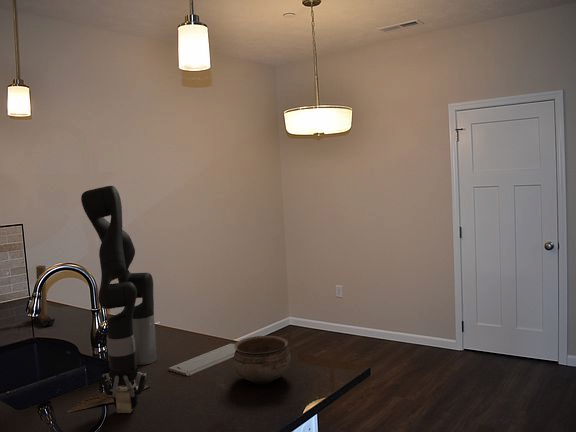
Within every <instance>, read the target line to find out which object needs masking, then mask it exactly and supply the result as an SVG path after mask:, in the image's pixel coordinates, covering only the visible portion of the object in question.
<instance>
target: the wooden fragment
mask: <svg viewBox="0 0 576 432" xmlns="http://www.w3.org/2000/svg"><path fill="white" fill-rule="evenodd" d="M138 385H139V383H136V386H138ZM125 387H127V386H125ZM147 388H151V386H150V385H146V384H145V386H144V390H145V389H147ZM111 403H114V398H113V396H112V395H107V394H106V392H105V391H103V392H99V393H97V394H95V395H92V396H91V397H90V396H89V397H85V398H84V399H83V400H81V401H80V402H79V403H77V404H76V405H75V406H73V407H71V408H70V409H69V410H68V411H67V412H66V413H67V414H68V413H73V412H77V411H80V410H85V409H89V408H94V407H98V406H100V405H104V404H106V405H107V404H111Z"/></svg>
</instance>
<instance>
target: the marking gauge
mask: <svg viewBox="0 0 576 432" xmlns="http://www.w3.org/2000/svg"><path fill="white" fill-rule="evenodd" d="M136 388H137V389H138V386H136ZM116 406H117V409H116V413H117V414H120V413H121V414H131V413H132V412H133V410H134V409H132V408H131V394H130V391H129V390H128V388H127V387H126V386H121V388H120V389H119V390H118V391H117V392H116Z"/></svg>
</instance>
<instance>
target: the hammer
mask: <svg viewBox="0 0 576 432" xmlns="http://www.w3.org/2000/svg"><path fill="white" fill-rule="evenodd" d="M35 270H36V271H35V272H36V280H37V279H38V278H39V276H40V275H41V274H42V273H43V272H44V271H45V270H46V271H47V267H46V265H37V266H36V268H35ZM47 301H48V300H47V281H46V282H45V284H44V286H43V288H42V311H41V315H39V316H37V317H33V316H32V318H33V319H32V320H33V322H34V323H35V324H36V325H37V326H39V327H42V328H44V327H48V326H49V327H50V326H53V325H54V323H55V321H56V319H55V318H51V317H50V316H49V315H48V309H47V306H48V305H47Z"/></svg>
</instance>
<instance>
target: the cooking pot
mask: <svg viewBox="0 0 576 432" xmlns="http://www.w3.org/2000/svg"><path fill="white" fill-rule="evenodd" d="M234 344H235V345H234V347H235V349H236V351H235V354H234V357H233V359H232V365H233V369H234V370H235V372H236V374H237V375H238V376H239V377H241V378H242V379H244V380H245V381H249V382H252V383H253V384H256V385H267V384H271V383H273V381H276V380H277V379H279V378H281V377H282V376H284V375H285V374H286V373H287V371H288V370H289V368H290V366H291V361H292V357H291V354H290V350H289V348H288V344H289V341H288V339H285V338H284V337H280V336H276V335H256V336H250V337H246V338H243V339H239V341H237V342H235V343H234Z"/></svg>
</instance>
